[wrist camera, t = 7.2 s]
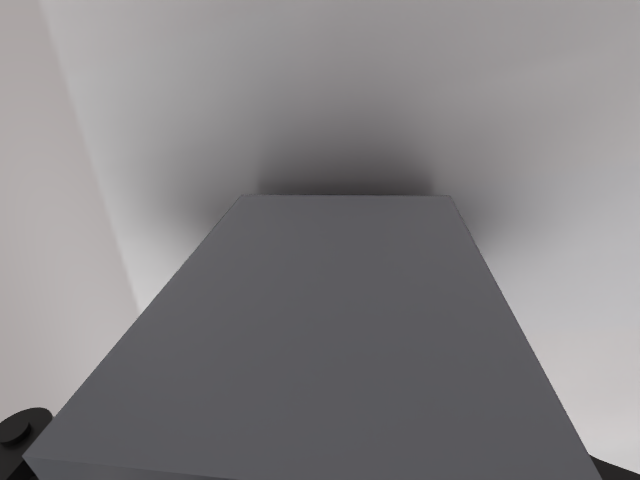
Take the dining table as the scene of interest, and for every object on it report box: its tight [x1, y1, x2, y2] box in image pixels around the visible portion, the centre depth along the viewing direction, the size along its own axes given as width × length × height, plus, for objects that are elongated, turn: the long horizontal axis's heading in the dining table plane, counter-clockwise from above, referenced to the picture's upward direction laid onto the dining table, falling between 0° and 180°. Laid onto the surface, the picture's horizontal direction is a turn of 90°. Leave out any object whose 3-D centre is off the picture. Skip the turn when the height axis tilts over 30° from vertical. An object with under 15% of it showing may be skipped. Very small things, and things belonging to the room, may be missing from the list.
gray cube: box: [22, 195, 602, 480], centre depth 9 cm, size 7×7×9 cm
